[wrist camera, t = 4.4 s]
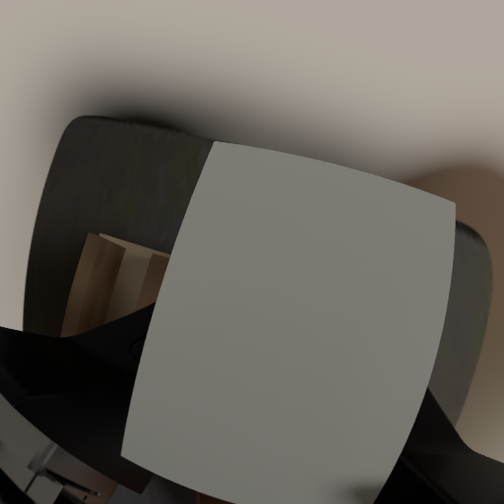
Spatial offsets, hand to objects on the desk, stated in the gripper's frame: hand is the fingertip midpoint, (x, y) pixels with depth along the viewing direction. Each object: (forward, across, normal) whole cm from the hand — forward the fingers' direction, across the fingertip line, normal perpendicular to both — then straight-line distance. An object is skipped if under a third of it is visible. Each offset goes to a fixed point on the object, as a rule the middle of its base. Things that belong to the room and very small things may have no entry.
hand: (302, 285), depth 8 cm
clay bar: (+4, 0, +6) cm, 7 cm away
